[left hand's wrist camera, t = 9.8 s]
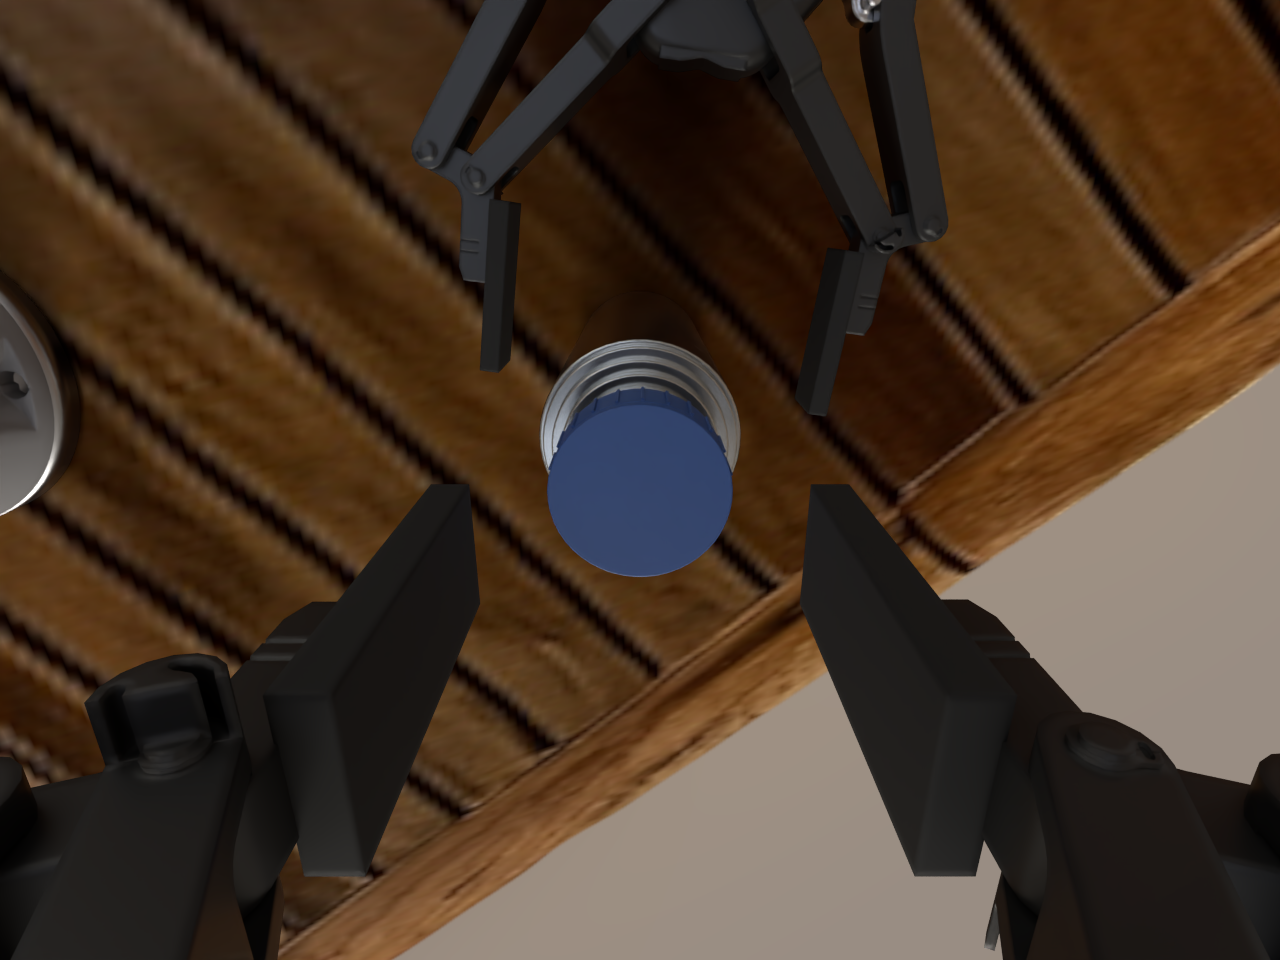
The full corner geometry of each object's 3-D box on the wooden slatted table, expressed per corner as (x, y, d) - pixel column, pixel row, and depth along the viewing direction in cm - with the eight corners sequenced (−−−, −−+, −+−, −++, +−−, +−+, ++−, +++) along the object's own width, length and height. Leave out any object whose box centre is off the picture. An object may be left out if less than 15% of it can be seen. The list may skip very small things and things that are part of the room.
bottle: (645, 264, 34) (652, 311, 16) (724, 358, 35) (813, 499, 17) (554, 347, 35) (464, 478, 17) (634, 434, 37) (629, 638, 19)
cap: (648, 348, 17) (649, 360, 16) (762, 478, 18) (773, 502, 17) (517, 463, 18) (505, 486, 17) (632, 579, 20) (632, 611, 18)
